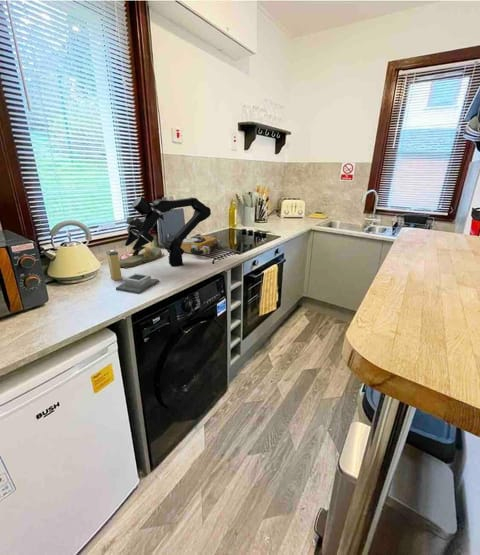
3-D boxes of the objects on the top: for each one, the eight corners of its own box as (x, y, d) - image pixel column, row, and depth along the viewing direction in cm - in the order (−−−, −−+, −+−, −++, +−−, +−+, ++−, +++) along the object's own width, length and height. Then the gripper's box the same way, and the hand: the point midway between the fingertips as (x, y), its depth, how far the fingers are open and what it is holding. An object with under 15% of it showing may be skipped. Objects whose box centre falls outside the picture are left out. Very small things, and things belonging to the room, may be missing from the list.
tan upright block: (118, 276, 131) (114, 248, 126) (122, 278, 128) (117, 250, 123) (111, 277, 129) (105, 249, 124) (114, 280, 126) (109, 251, 121)
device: (227, 235, 177) (201, 246, 152) (227, 248, 180) (202, 260, 155) (198, 232, 186) (169, 241, 161) (199, 244, 189) (171, 255, 164)
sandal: (168, 255, 164) (166, 242, 161) (128, 270, 140) (126, 255, 137) (153, 252, 169) (152, 240, 166) (112, 266, 145) (110, 252, 142)
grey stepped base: (137, 278, 129) (136, 270, 127) (159, 281, 125) (158, 273, 124) (116, 289, 117) (114, 281, 115) (139, 293, 113) (138, 284, 111)
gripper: (128, 208, 132) (108, 234, 130) (144, 212, 119) (122, 241, 117) (145, 222, 140) (127, 247, 137) (162, 228, 127) (142, 255, 124)
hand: (129, 247), depth 129 cm, fingers open, 9 cm apart
